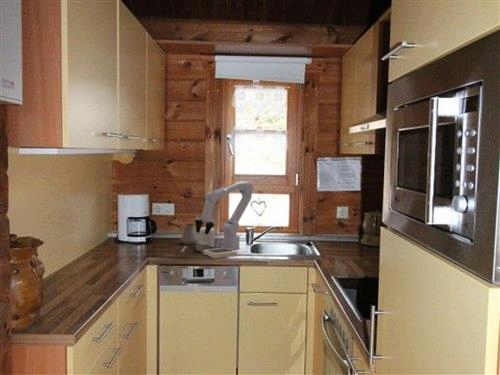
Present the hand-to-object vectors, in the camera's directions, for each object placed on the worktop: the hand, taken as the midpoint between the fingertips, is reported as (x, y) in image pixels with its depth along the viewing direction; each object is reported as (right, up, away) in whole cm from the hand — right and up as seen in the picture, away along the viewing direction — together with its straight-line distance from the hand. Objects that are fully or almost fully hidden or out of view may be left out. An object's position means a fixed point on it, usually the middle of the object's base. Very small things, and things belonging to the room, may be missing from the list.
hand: (201, 233), depth 278 cm
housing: (0, -11, +1) cm, 11 cm away
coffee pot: (-14, -9, +19) cm, 26 cm away
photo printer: (+1, -10, +15) cm, 18 cm away
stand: (+11, -12, -9) cm, 19 cm away
